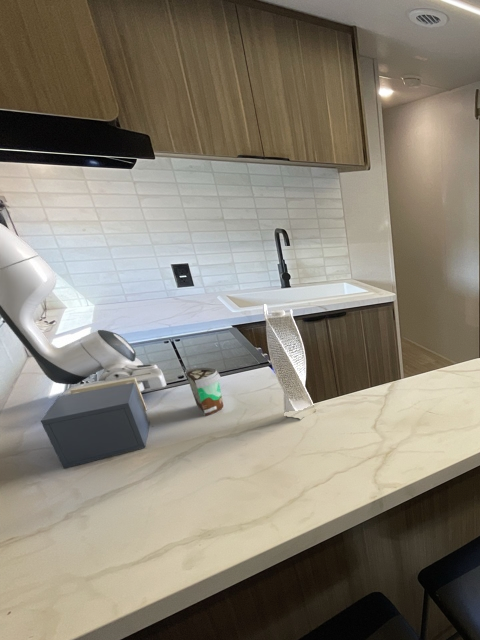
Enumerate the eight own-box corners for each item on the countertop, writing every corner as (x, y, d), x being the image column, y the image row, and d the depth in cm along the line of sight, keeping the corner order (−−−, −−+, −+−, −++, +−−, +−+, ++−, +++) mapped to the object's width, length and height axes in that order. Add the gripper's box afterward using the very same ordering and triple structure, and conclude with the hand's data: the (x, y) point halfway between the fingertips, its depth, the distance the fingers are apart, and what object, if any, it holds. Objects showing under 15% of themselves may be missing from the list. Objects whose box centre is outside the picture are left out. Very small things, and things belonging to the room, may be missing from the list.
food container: (234, 409, 105) (224, 374, 101) (206, 417, 101) (195, 381, 97) (221, 397, 113) (211, 363, 109) (195, 404, 109) (184, 369, 105)
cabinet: (77, 439, 92) (58, 396, 88) (149, 422, 99) (134, 382, 95) (63, 468, 80) (40, 420, 77) (145, 447, 88) (128, 402, 84)
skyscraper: (276, 418, 100) (248, 306, 90) (299, 405, 106) (276, 300, 96) (300, 422, 97) (275, 308, 87) (323, 409, 104) (301, 302, 94)
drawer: (89, 415, 101) (75, 383, 98) (148, 403, 107) (136, 372, 104) (74, 445, 87) (57, 408, 84) (143, 429, 94) (130, 394, 90)
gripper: (65, 379, 106) (50, 394, 96) (162, 362, 117) (159, 374, 107) (75, 401, 108) (61, 418, 98) (169, 382, 119) (167, 396, 109)
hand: (113, 395), depth 102 cm, fingers closed on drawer, 6 cm apart
